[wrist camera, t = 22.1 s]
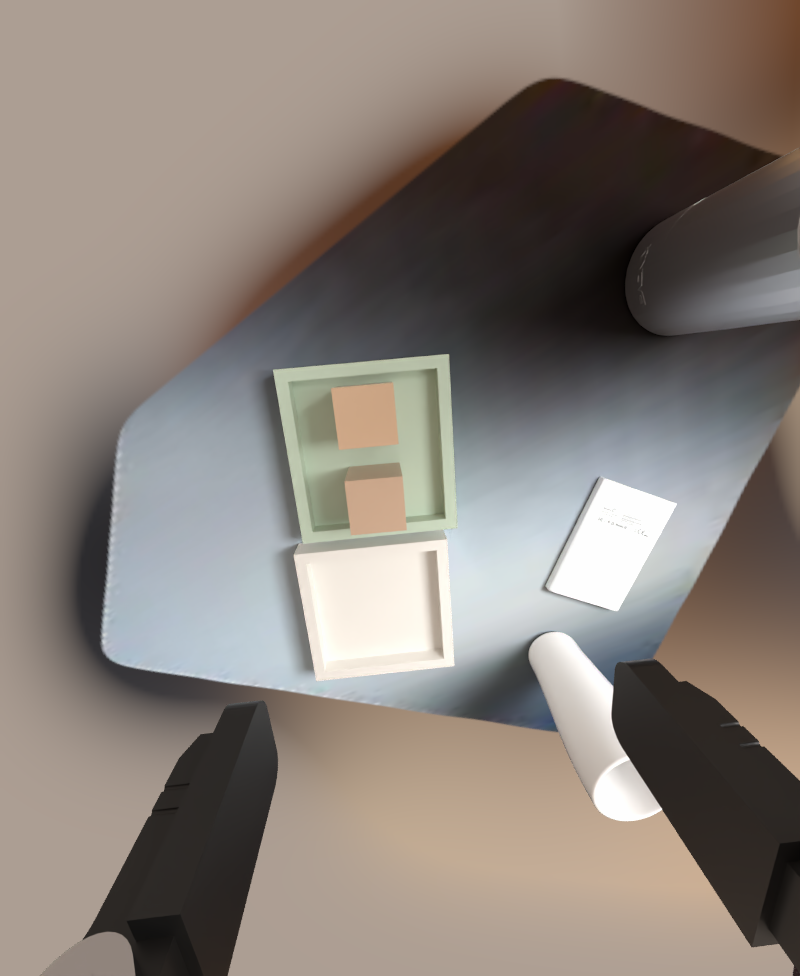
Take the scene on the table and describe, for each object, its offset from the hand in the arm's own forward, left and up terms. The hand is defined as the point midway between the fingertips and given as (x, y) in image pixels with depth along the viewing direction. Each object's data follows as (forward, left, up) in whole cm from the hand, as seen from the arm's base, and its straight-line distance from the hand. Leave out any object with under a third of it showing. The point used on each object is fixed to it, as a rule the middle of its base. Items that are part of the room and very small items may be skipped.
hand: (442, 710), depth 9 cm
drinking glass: (-15, +23, -28) cm, 39 cm away
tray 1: (+2, -1, -28) cm, 28 cm away
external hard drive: (-21, +11, -29) cm, 37 cm away
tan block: (+2, +2, -27) cm, 27 cm away
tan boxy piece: (+2, -4, -27) cm, 28 cm away
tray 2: (+3, +14, -28) cm, 32 cm away
